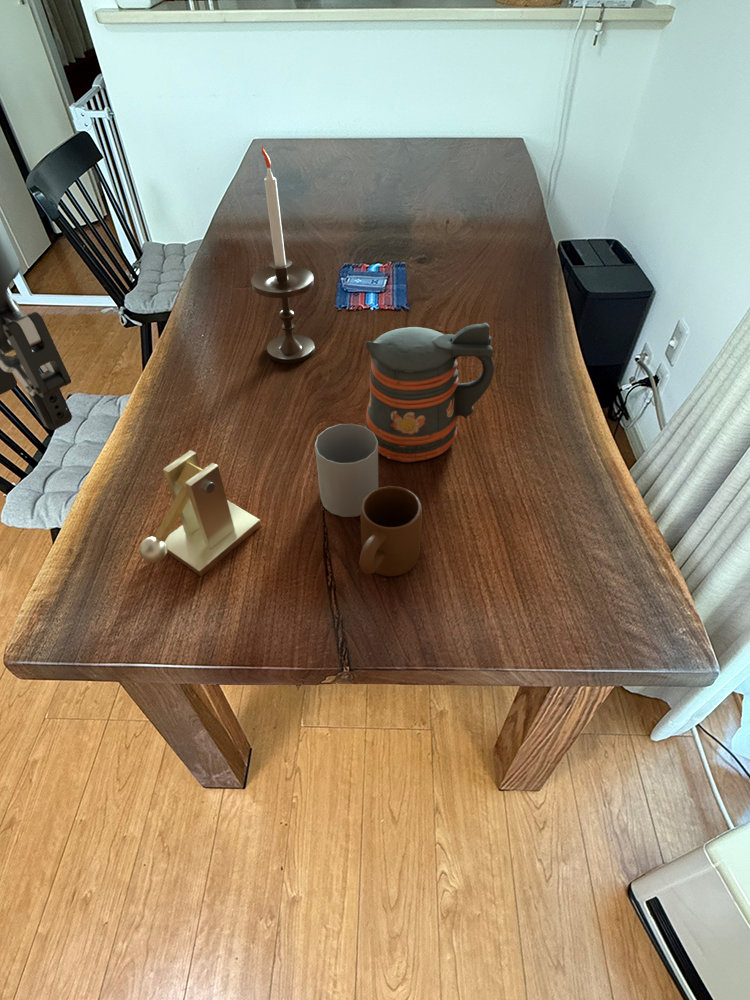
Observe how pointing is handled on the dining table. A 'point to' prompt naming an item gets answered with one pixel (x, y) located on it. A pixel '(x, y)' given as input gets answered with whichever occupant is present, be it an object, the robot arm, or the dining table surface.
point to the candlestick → (282, 283)
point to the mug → (390, 531)
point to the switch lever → (168, 519)
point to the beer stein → (423, 388)
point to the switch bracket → (205, 518)
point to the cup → (346, 467)
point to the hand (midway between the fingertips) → (32, 406)
